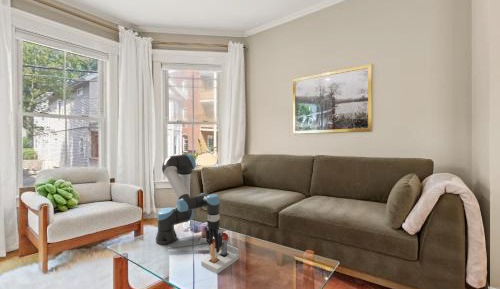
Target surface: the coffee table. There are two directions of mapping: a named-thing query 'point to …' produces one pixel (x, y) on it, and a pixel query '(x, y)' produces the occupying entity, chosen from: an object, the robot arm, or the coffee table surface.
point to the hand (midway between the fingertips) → (214, 255)
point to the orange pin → (213, 253)
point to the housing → (222, 260)
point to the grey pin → (224, 248)
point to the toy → (223, 238)
